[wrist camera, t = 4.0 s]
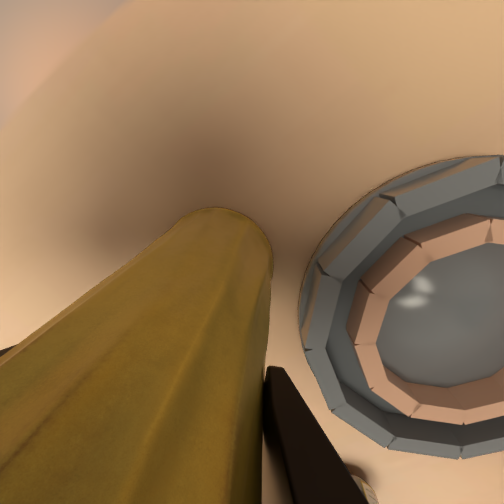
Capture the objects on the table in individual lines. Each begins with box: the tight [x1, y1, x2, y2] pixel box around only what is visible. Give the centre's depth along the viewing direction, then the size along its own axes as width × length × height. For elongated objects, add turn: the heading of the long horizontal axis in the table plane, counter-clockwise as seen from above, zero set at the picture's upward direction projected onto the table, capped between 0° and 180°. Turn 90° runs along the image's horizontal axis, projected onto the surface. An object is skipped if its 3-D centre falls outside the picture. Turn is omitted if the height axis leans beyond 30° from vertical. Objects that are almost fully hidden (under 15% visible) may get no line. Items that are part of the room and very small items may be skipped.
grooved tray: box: [298, 155, 504, 459], centre depth 14 cm, size 16×16×2 cm
